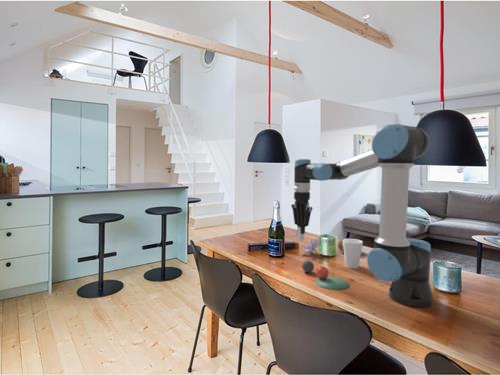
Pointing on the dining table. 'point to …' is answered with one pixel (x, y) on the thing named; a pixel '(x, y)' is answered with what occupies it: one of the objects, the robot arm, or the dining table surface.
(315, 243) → the water lily
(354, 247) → the foam cup
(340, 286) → the green mark
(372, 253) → the robot arm
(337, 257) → the dining table surface
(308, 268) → the dark gray ball
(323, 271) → the red ball
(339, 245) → the potato
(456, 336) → the dining table surface
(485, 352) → the dining table surface
